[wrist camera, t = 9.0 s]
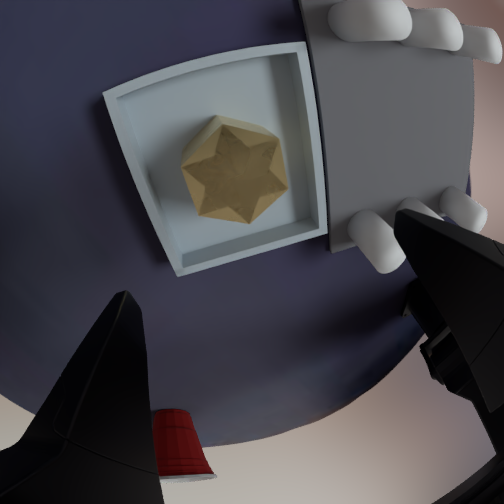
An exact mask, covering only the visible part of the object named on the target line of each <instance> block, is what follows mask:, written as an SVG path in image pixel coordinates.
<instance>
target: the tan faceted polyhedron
mask: <svg viewBox="0 0 504 504" xmlns="http://www.w3.org/2000/svg"><path fill="white" fill-rule="evenodd" d="M181 169H182V172H183V175H184V178H185V181H186V183H187V186H188V189H189V192H190V194H191V197H192V200H193V203H194V205H195V208H196V211H197V213H198V216H202V217H208V218H214V219H221V220H227V221H233V222H239V223H245V224H251V223H252V222H253V221H254V220H255V219H256V218H257V217H258V216H259V215H261V214H262V213H263V212H264V211H265V210H266V209H267V208H268V207H269V206H270V205H272V204H273V203H274V202H275V201H276V200H277V199H278V198H279V197H280V196H282V195H283V194H284V193H285V192H286V191H287V190H288V189H289V188H288V182H287V177H286V171H285V166H284V160H283V155H282V149H281V144H280V139H279V138H278V137H276V136H275V135H274V134H272V133H271V132H270V131H268V130H267V129H266V128H264V127H263V126H260V125H256V124H253V123H249V122H245V121H241V120H237V119H233V118H229V117H224V116H220V115H215V116H214V117H213V118H212V119H211V120H210V121H209V122H208V123H207V124H206V125H205V126H204V127H203V128H202V129H201V130H200V131H199V132H198V133H197V134H196V135H195V136H194V137H193V138H192V139H191V140H190V142H189V143H188V144H187V145H186V146H185V147H184V148H183V149H182V158H181Z"/></svg>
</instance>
